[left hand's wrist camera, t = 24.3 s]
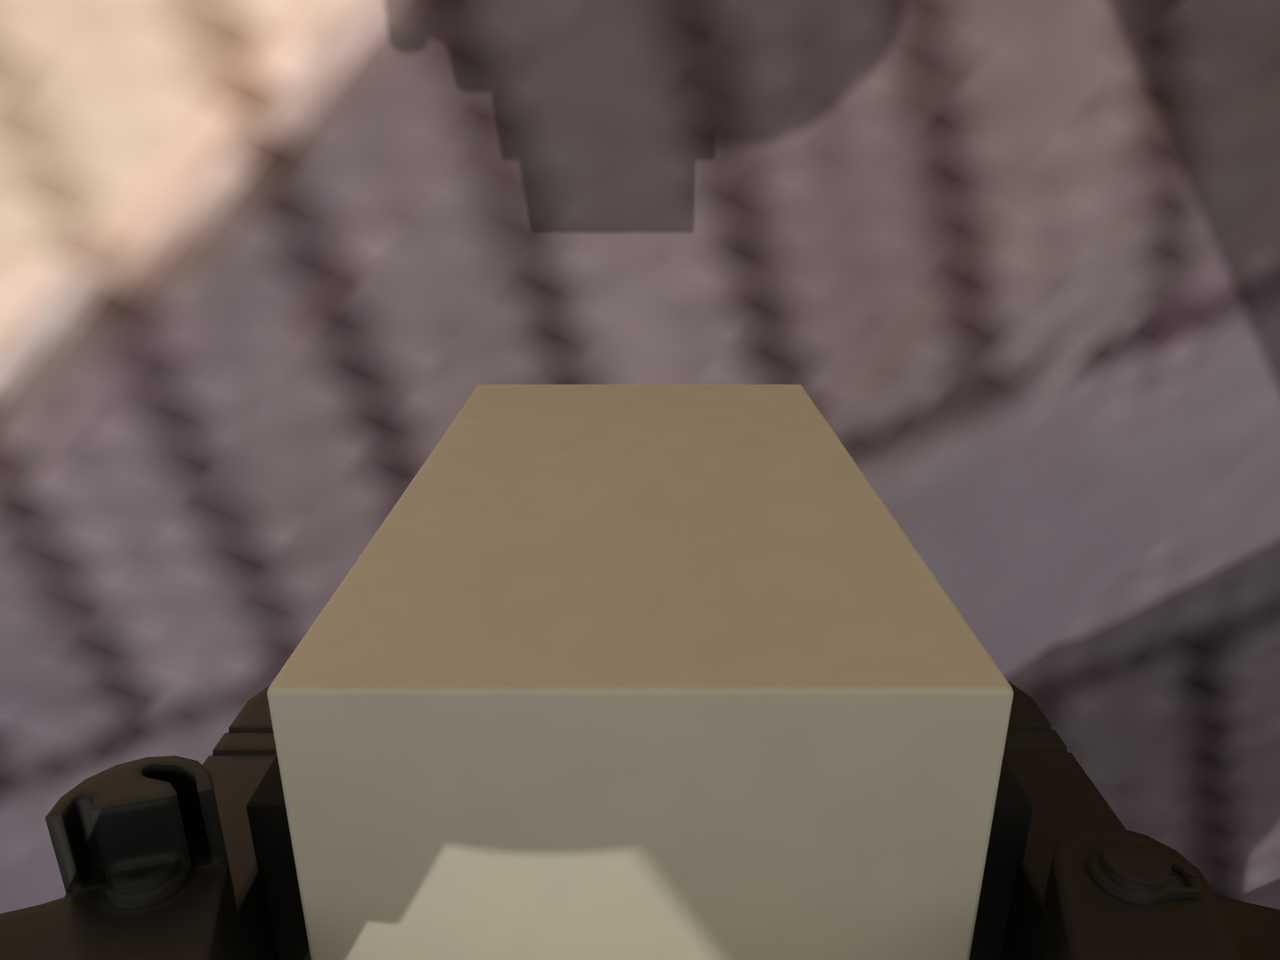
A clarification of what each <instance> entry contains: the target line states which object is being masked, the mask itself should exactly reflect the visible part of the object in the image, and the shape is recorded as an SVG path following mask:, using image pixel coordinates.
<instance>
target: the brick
mask: <svg viewBox="0 0 1280 960" xmlns="http://www.w3.org/2000/svg"><path fill="white" fill-rule="evenodd" d="M267 696H268V702H269V708H270V714H271V720H272V726H273V732H274V738H275V744H276V750H277V756H278V762H279V768H280V774H281V780H282V787H283V793H284V799H285V805H286V811H287V817H288V823H289V829H290V835H291V841H292V847H293V853H294V859H295V865H296V871H297V877H298V883H299V889H300V895H301V901H302V907H303V913H304V919H305V925H306V931H307V937H308V943H309V949H310V955H311V960H969V957H970V951H971V945H972V939H973V933H974V927H975V921H976V915H977V909H978V903H979V897H980V891H981V885H982V879H983V873H984V867H985V861H986V855H987V849H988V843H989V837H990V831H991V825H992V819H993V813H994V807H995V801H996V795H997V789H998V783H999V777H1000V771H1001V765H1002V759H1003V754H1004V748H1005V742H1006V736H1007V730H1008V724H1009V718H1010V712H1011V706H1012V700H1013V689H1012V687H1011V686H1010V684H1009V683H1008V681H1007V680H1006V679H1005V677H1004V676H1003V674H1002V673H1001V671H1000V670H999V668H998V667H997V666H996V664H995V663H994V661H993V660H992V658H991V657H990V656H989V654H988V653H987V651H986V650H985V648H984V647H983V646H982V644H981V643H980V641H979V640H978V638H977V637H976V635H975V634H974V633H973V631H972V630H971V628H970V627H969V625H968V624H967V623H966V621H965V620H964V618H963V617H962V615H961V614H960V613H959V611H958V610H957V608H956V607H955V605H954V604H953V602H952V601H951V600H950V598H949V597H948V595H947V594H946V592H945V591H944V590H943V588H942V587H941V585H940V584H939V582H938V581H937V580H936V578H935V577H934V575H933V574H932V572H931V571H930V569H929V568H928V567H927V565H926V564H925V562H924V561H923V559H922V558H921V557H920V555H919V554H918V552H917V551H916V549H915V548H914V547H913V545H912V544H911V542H910V541H909V539H908V538H907V536H906V535H905V534H904V532H903V531H902V529H901V528H900V526H899V525H898V524H897V522H896V521H895V519H894V518H893V516H892V515H891V513H890V512H889V511H888V509H887V508H886V506H885V505H884V503H883V502H882V501H881V499H880V498H879V496H878V495H877V493H876V492H875V491H874V489H873V488H872V486H871V485H870V483H869V482H868V480H867V479H866V478H865V476H864V475H863V473H862V472H861V470H860V469H859V468H858V466H857V465H856V463H855V462H854V460H853V459H852V458H851V456H850V455H849V453H848V452H847V450H846V449H845V447H844V446H843V445H842V443H841V442H840V440H839V439H838V437H837V436H836V435H835V433H834V432H833V430H832V429H831V427H830V426H829V425H828V423H827V422H826V420H825V419H824V417H823V416H822V414H821V413H820V412H819V410H818V409H817V407H816V406H815V404H814V403H813V402H812V400H811V399H810V397H809V396H808V394H807V393H806V392H805V390H804V389H803V387H802V386H801V385H478V386H477V388H476V389H475V391H474V392H473V394H472V395H471V396H470V398H469V399H468V401H467V402H466V404H465V405H464V407H463V408H462V409H461V411H460V412H459V414H458V415H457V417H456V418H455V420H454V421H453V422H452V424H451V425H450V427H449V428H448V430H447V431H446V433H445V434H444V435H443V437H442V438H441V440H440V441H439V443H438V444H437V446H436V447H435V448H434V450H433V451H432V453H431V454H430V456H429V457H428V459H427V460H426V461H425V463H424V464H423V466H422V467H421V469H420V470H419V472H418V473H417V474H416V476H415V477H414V479H413V480H412V482H411V483H410V485H409V486H408V487H407V489H406V490H405V492H404V493H403V495H402V496H401V498H400V499H399V500H398V502H397V503H396V505H395V506H394V508H393V509H392V511H391V512H390V513H389V515H388V516H387V518H386V519H385V521H384V522H383V524H382V525H381V526H380V528H379V529H378V531H377V532H376V534H375V535H374V537H373V538H372V539H371V541H370V542H369V544H368V545H367V547H366V548H365V549H364V551H363V552H362V554H361V555H360V557H359V558H358V560H357V561H356V562H355V564H354V565H353V567H352V568H351V570H350V571H349V573H348V574H347V575H346V577H345V578H344V580H343V581H342V583H341V584H340V586H339V587H338V588H337V590H336V591H335V593H334V594H333V596H332V597H331V599H330V600H329V601H328V603H327V604H326V606H325V607H324V609H323V610H322V612H321V613H320V614H319V616H318V617H317V619H316V620H315V622H314V623H313V625H312V626H311V627H310V629H309V630H308V632H307V633H306V635H305V636H304V638H303V639H302V640H301V642H300V643H299V645H298V646H297V648H296V649H295V651H294V652H293V653H292V655H291V656H290V658H289V659H288V661H287V662H286V664H285V665H284V666H283V668H282V669H281V671H280V672H279V674H278V675H277V677H276V678H275V679H274V681H273V682H272V684H271V685H270V687H269V688H268V691H267Z"/></svg>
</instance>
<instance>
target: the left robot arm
mask: <svg viewBox="0 0 1280 960" xmlns="http://www.w3.org/2000/svg"><path fill="white" fill-rule="evenodd" d="M1008 683H1009V684H1010V686H1011V687H1012V689H1013V700H1012V706H1011V712H1010V718H1009V724H1008V730H1007V736H1006V742H1005V748H1004V754H1003V759H1002V765H1001V771H1000V777H999V783H998V789H997V795H996V801H995V807H994V813H993V819H992V825H991V831H990V837H989V843H988V849H987V855H986V861H985V867H984V873H983V879H982V885H981V891H980V897H979V903H978V909H977V915H976V921H975V927H974V933H973V939H972V945H971V951H970V957H969V960H1280V910H1277V909H1272V908H1268V907H1264V906H1259V905H1255V904H1251V903H1247V902H1242V901H1238V900H1235V899H1231V898H1228V897H1225V896H1221V895H1218V894H1215V893H1214V891H1213V890H1212V888H1211V887H1210V885H1209V884H1208V882H1207V881H1206V879H1205V878H1204V876H1203V875H1202V873H1201V872H1200V870H1198V869H1197V868H1196V867H1195V866H1194V865H1192V864H1191V863H1190V862H1189V861H1188V860H1186V859H1185V858H1184V857H1183V856H1182V855H1180V854H1179V853H1178V852H1177V851H1175V850H1174V849H1172V848H1170V847H1168V846H1166V845H1164V844H1162V843H1160V842H1158V841H1156V840H1154V839H1152V838H1151V837H1149V836H1146V835H1143V834H1140V833H1136V832H1133V831H1129V830H1126V829H1125V827H1124V826H1123V825H1122V823H1121V822H1120V820H1119V819H1118V818H1117V816H1116V815H1115V813H1114V812H1113V811H1112V809H1111V808H1110V806H1109V805H1108V804H1107V802H1106V801H1105V800H1104V798H1103V797H1102V795H1101V794H1100V793H1099V791H1098V790H1097V788H1096V787H1095V786H1094V784H1093V783H1092V781H1091V780H1090V779H1089V777H1088V776H1087V774H1086V773H1085V772H1084V770H1083V769H1082V767H1081V766H1080V765H1079V763H1078V762H1077V760H1076V759H1075V758H1074V756H1073V755H1072V754H1071V753H1068V752H1067V747H1066V745H1065V744H1064V742H1063V741H1062V740H1061V738H1060V737H1059V735H1058V734H1057V733H1056V731H1055V730H1051V724H1050V723H1049V721H1048V720H1047V719H1046V717H1045V716H1044V714H1043V713H1042V712H1041V710H1040V709H1039V708H1038V706H1037V705H1036V703H1035V702H1034V701H1033V699H1032V698H1031V697H1030V696H1028V695H1027V694H1025V693H1024V692H1023V691H1021V690H1020V689H1018V688H1017V687H1015V686H1014V685H1013V684H1011V683H1010V682H1008ZM269 687H270V686H268V687H267V688H266V689H264V690H263V691H261V692H260V693H258V694H257V695H256V696H254V697H253V698H251V699H250V700H249V701H248V702H247V703H246V705H245V706H244V707H243V709H242V710H241V712H240V713H239V714H238V716H237V717H236V719H235V720H234V721H233V723H232V724H231V726H230V727H229V733H225V734H224V735H223V737H222V738H221V740H220V741H219V742H218V744H217V745H216V747H215V748H214V749H213V755H212V756H208V758H207V759H206V761H205V762H204V763H203V765H202V764H200V763H199V762H198V761H195V760H191V759H187V758H183V757H178V756H162V757H146V758H142V759H139V760H135V761H131V762H127V763H123V764H119V765H116V766H113V767H111V768H109V769H107V770H105V771H103V772H100V773H98V774H96V775H94V776H92V777H90V778H87V779H85V780H84V781H83V782H81V783H80V784H79V785H77V786H76V787H75V788H73V789H72V790H70V791H69V792H68V793H66V794H65V795H64V796H62V797H61V798H60V799H59V801H58V802H57V803H56V804H55V806H54V807H53V808H52V810H51V811H50V812H49V814H48V815H47V816H46V817H45V819H46V822H47V826H48V830H49V833H50V837H51V840H52V844H53V847H54V851H55V854H56V858H57V862H58V865H59V869H60V872H61V876H62V879H63V883H64V886H65V890H66V895H65V897H64V898H61V899H58V900H54V901H51V902H48V903H45V904H41V905H37V906H32V907H28V908H24V909H20V910H15V911H11V912H7V913H3V914H0V960H311V955H310V949H309V943H308V937H307V931H306V925H305V919H304V913H303V907H302V901H301V895H300V889H299V883H298V877H297V871H296V865H295V859H294V853H293V847H292V841H291V835H290V829H289V823H288V817H287V811H286V805H285V799H284V793H283V787H282V780H281V774H280V768H279V762H278V756H277V750H276V744H275V738H274V732H273V726H272V720H271V714H270V708H269V702H268V696H267V691H268V688H269Z"/></svg>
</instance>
